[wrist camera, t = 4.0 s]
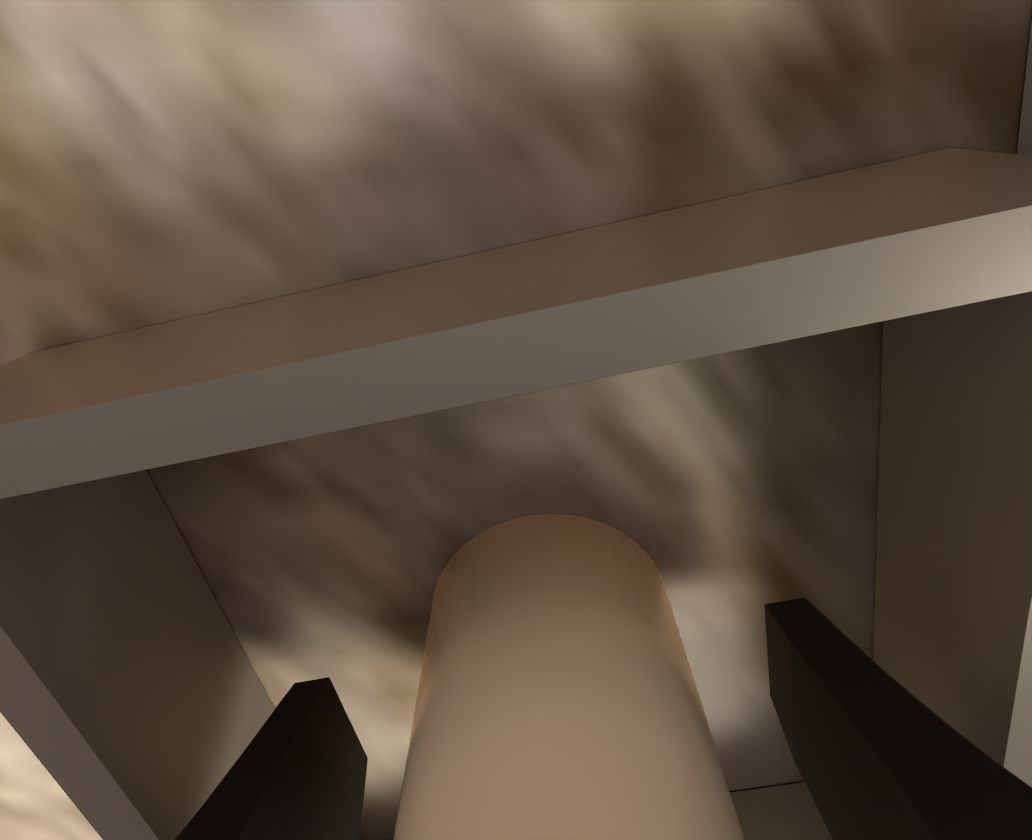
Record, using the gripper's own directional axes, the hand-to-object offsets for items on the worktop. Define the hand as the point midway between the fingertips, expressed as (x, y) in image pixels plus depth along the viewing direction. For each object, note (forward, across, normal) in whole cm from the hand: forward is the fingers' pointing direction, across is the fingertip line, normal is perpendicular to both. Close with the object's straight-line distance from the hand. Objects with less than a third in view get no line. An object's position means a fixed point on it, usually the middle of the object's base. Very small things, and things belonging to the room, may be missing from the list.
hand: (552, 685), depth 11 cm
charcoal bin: (+2, 0, 0) cm, 2 cm away
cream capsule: (+2, 0, 0) cm, 2 cm away
